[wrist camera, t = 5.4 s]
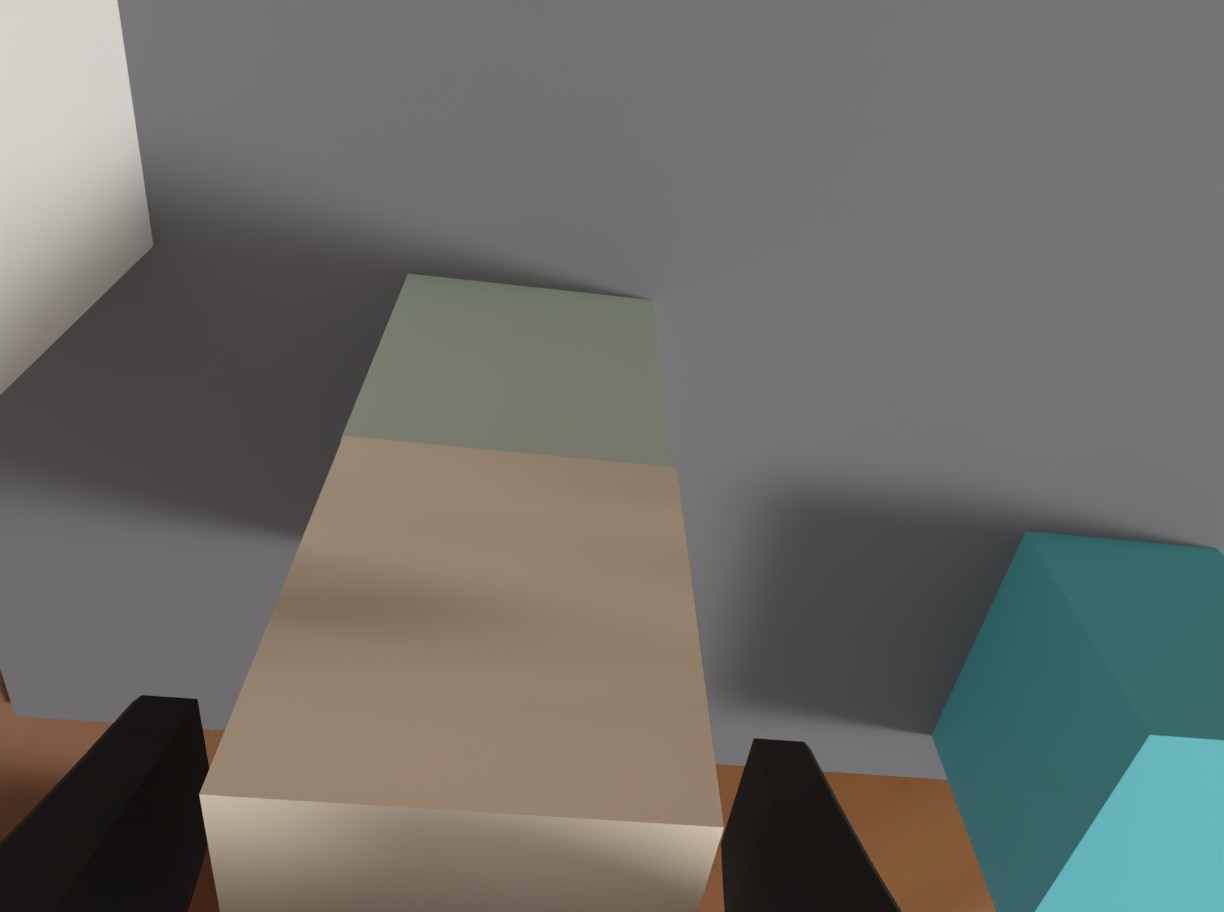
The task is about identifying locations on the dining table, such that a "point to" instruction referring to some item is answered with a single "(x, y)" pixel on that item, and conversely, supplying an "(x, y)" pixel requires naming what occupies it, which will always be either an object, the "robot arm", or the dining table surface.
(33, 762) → the dining table surface
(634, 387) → the sage block
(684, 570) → the maple block
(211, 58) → the mat
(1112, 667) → the teal block
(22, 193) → the white block
